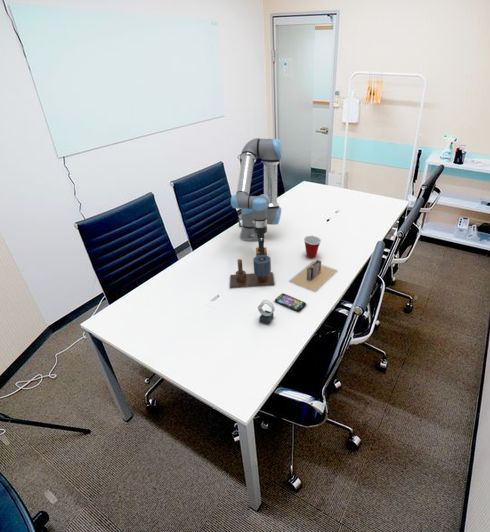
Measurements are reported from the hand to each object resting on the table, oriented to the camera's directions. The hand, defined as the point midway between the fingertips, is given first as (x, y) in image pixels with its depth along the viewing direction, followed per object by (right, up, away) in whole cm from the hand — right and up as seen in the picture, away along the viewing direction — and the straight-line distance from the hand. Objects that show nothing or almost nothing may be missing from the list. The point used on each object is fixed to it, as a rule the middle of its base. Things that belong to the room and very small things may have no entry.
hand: (261, 257), depth 202 cm
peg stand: (-4, -14, -15) cm, 20 cm away
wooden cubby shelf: (0, -3, +2) cm, 4 cm away
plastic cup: (+31, +1, +9) cm, 32 cm away
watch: (+6, -31, -42) cm, 53 cm away
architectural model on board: (+31, -11, -10) cm, 34 cm away
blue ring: (+2, -8, -17) cm, 19 cm away
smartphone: (+17, -24, -31) cm, 43 cm away
